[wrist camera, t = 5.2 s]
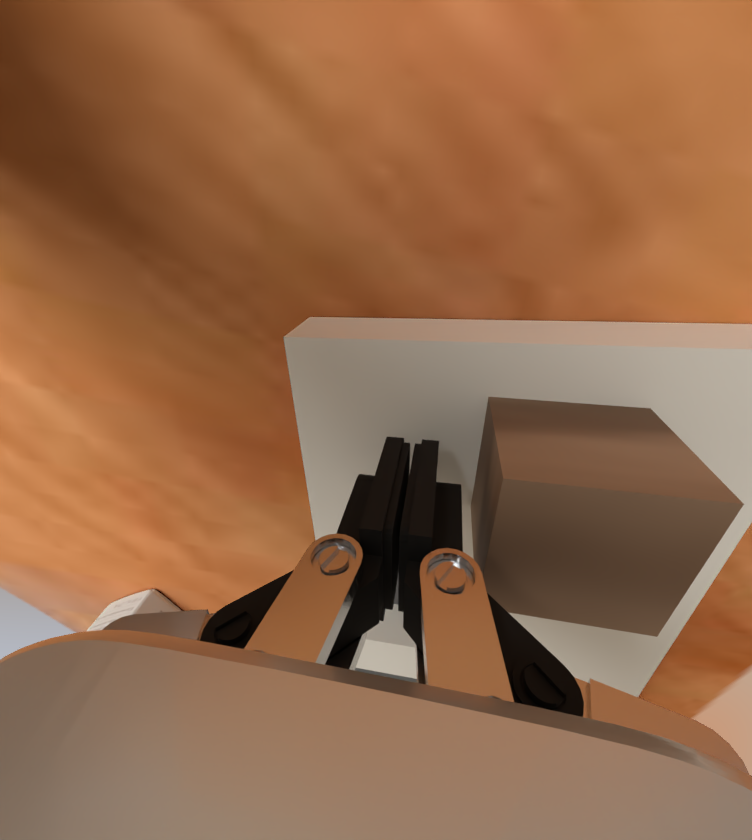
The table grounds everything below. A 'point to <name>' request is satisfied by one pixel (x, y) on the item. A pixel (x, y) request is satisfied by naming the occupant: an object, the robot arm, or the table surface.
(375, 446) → the board
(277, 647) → the robot arm
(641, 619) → the walnut block
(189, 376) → the table surface
